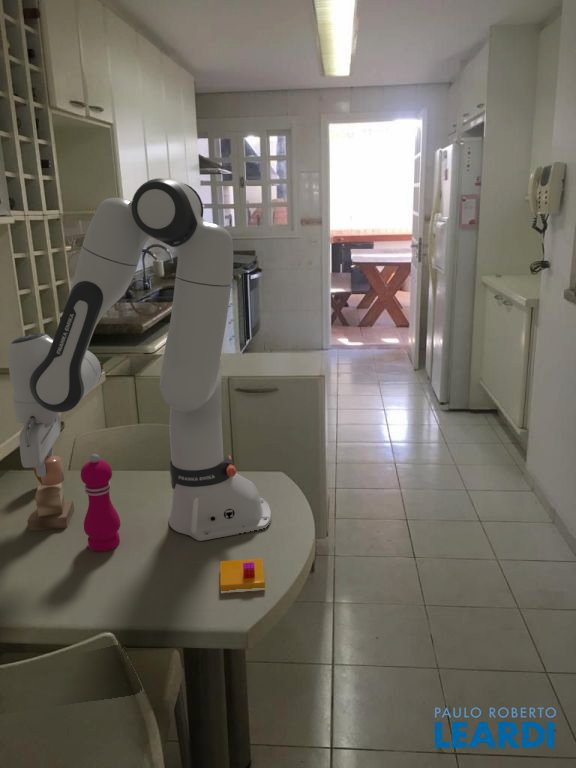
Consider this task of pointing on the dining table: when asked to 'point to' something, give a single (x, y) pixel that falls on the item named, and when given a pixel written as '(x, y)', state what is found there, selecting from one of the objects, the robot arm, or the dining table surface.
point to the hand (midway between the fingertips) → (45, 469)
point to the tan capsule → (53, 471)
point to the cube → (50, 500)
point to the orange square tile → (241, 574)
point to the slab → (51, 518)
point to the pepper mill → (100, 506)
